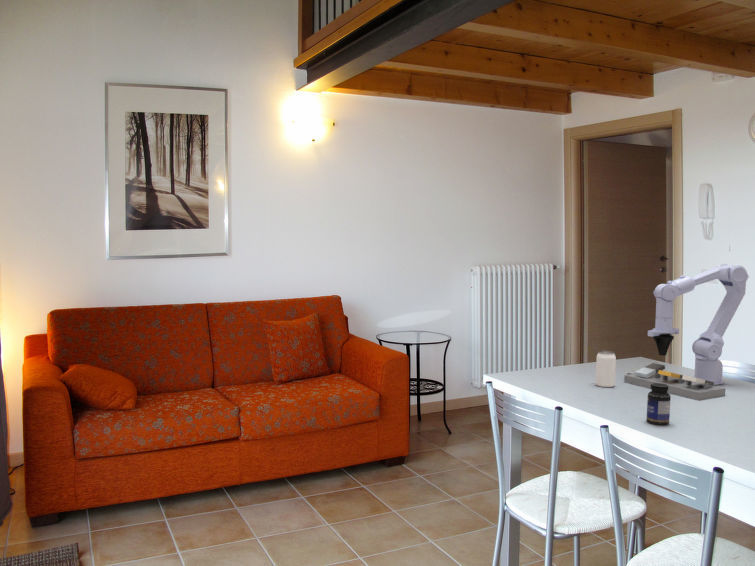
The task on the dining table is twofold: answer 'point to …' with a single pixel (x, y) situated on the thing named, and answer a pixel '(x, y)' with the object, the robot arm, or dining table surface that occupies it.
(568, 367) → the dining table surface
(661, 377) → the rocker switch panel
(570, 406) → the dining table surface
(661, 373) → the block
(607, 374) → the can
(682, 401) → the dining table surface
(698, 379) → the rocker
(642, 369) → the rocker
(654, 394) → the pill bottle
